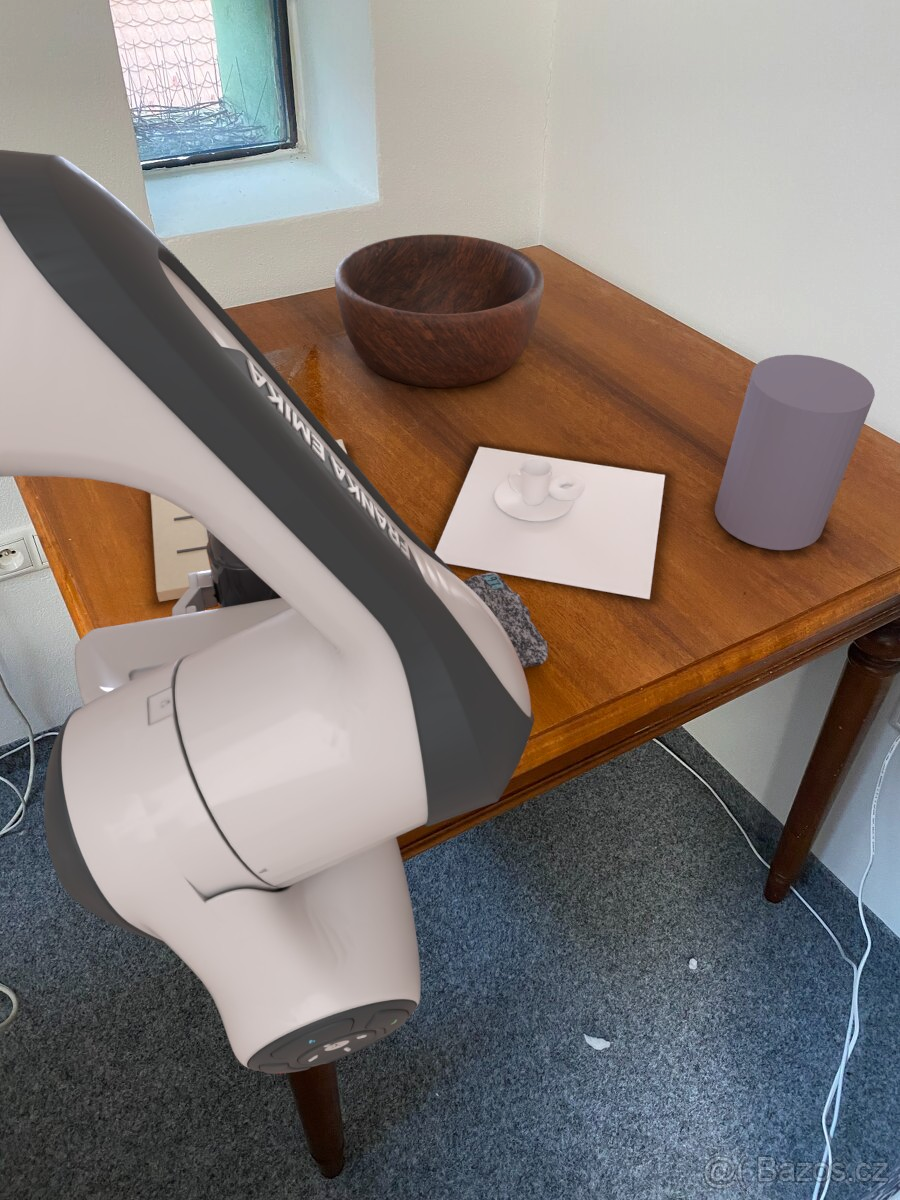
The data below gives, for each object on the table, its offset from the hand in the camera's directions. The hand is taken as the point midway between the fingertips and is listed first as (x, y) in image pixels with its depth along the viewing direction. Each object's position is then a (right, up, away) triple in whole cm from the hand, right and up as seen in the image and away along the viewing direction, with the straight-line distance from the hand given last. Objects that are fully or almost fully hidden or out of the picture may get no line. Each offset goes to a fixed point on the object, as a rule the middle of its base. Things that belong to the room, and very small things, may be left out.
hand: (250, 571), depth 55 cm
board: (-6, +6, +30) cm, 31 cm away
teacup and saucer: (+23, +6, +31) cm, 39 cm away
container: (+44, +6, +31) cm, 54 cm away
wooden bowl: (+11, +30, +56) cm, 64 cm away
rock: (+16, -5, +18) cm, 24 cm away
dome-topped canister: (0, -5, +3) cm, 5 cm away
